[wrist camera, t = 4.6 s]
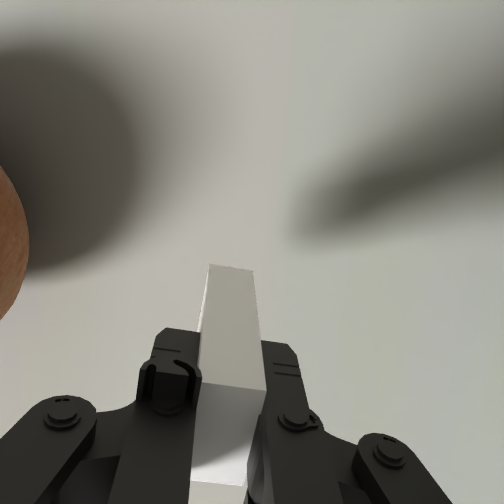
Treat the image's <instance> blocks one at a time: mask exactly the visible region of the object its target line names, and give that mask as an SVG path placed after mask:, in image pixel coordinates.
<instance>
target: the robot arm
mask: <svg viewBox="0 0 504 504" xmlns="http://www.w3.org/2000/svg"><path fill="white" fill-rule="evenodd" d="M246 472H247V480H248V488H247V492H246V496H245V500H244V504H452V502H451V501H450V500H449V498H448V497H447V496H446V494H445V493H444V492H443V491H442V489H441V488H440V487H439V485H438V484H437V483H436V481H435V480H434V479H433V477H432V476H431V475H430V473H429V472H428V471H427V469H426V468H425V467H424V465H423V464H422V463H421V461H420V460H419V459H418V458H417V456H416V455H415V454H414V452H413V451H412V450H411V449H410V448H409V447H408V446H407V445H405V444H404V443H402V442H401V441H399V440H397V439H396V438H394V437H391V436H388V435H385V434H379V433H371V434H367V435H364V436H363V437H362V438H361V439H360V440H359V442H358V445H355V444H353V443H350V442H347V441H344V440H342V439H339V438H337V437H335V436H333V435H330V434H329V433H327V432H326V431H324V427H323V424H322V422H321V420H320V418H319V417H318V416H317V415H316V414H315V413H314V412H313V411H312V410H310V409H309V406H308V402H307V397H306V393H305V389H304V385H303V381H302V378H301V372H300V368H299V364H298V359H297V355H296V354H295V353H294V351H293V350H292V349H291V348H290V347H289V345H288V344H284V343H277V342H270V341H264V340H261V339H260V330H259V322H258V313H257V305H256V296H255V288H254V279H253V271H251V270H244V269H238V268H232V267H226V266H220V265H214V264H209V268H208V274H207V279H206V285H205V291H204V296H203V302H202V308H201V313H200V319H199V325H198V330H197V332H193V331H186V330H180V329H173V328H165V329H164V330H162V331H161V332H160V333H159V334H158V335H157V336H156V338H155V342H154V346H153V349H152V353H151V357H150V360H148V361H146V362H144V364H143V365H142V367H141V368H140V372H139V379H138V387H137V394H136V400H135V401H134V402H133V403H131V404H130V405H128V406H126V407H123V408H121V409H118V410H113V411H106V412H97V413H96V409H95V407H94V406H93V405H92V404H91V403H90V402H89V401H87V400H85V399H83V398H81V397H76V396H69V395H64V396H54V397H51V398H48V399H45V400H42V401H41V402H39V403H38V404H36V405H35V406H33V407H32V408H31V409H30V410H29V411H28V412H27V413H26V414H25V415H24V416H23V417H22V418H21V419H20V420H19V421H18V422H17V423H16V424H15V425H14V426H13V427H12V428H11V429H10V430H9V431H8V432H7V433H6V434H5V435H4V436H3V437H2V438H1V439H0V504H188V499H189V488H190V480H193V481H202V482H211V483H220V484H229V485H238V486H243V485H244V481H245V477H246Z"/></svg>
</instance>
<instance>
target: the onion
mask: <svg viewBox="0 0 504 504" xmlns="http://www.w3.org/2000/svg"><path fill="white" fill-rule="evenodd" d="M28 258H29V231H28V225H27V220H26V216H25V212H24V209H23V206H22V203H21V200H20V198H19V196H18V194H17V192H16V190H15V188H14V186H13V184H12V182H11V181H10V179H9V178H8V176H7V175H6V173H5V172H4V170H3V169H2V168H1V166H0V320H1V319H2V318H3V316H4V315H5V314H6V313H7V311H8V310H9V309H10V307H11V306H12V305H13V303H14V301H15V299H16V297H17V295H18V293H19V291H20V288H21V285H22V282H23V279H24V276H25V272H26V268H27V264H28Z"/></svg>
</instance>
